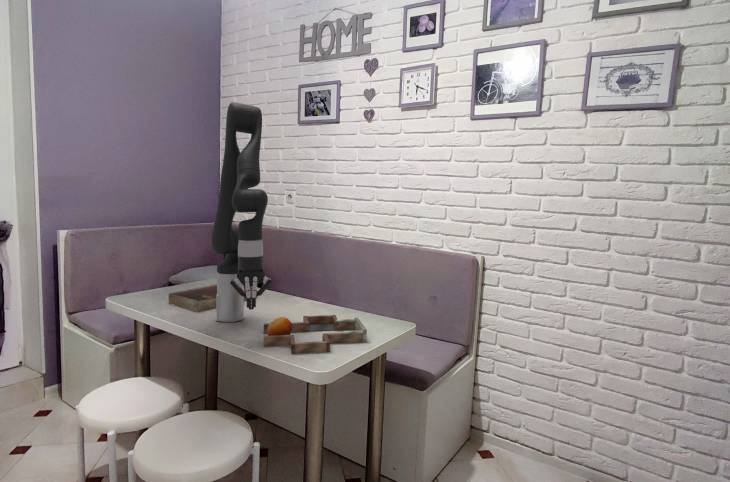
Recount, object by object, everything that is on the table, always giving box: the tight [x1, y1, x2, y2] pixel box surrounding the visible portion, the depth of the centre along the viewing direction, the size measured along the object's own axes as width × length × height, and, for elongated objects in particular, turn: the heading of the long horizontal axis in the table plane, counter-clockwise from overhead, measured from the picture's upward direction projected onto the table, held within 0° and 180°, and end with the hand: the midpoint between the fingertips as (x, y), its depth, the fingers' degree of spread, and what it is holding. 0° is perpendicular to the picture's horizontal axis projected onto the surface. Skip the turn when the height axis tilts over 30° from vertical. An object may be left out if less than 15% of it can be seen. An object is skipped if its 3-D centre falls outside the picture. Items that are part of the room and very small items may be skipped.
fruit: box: [266, 316, 293, 336], centre depth 144 cm, size 8×8×8 cm
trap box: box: [262, 314, 368, 355], centre depth 146 cm, size 32×27×4 cm
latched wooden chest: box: [168, 283, 258, 313], centre depth 185 cm, size 29×19×5 cm, turn 145°
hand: (251, 308), depth 141 cm, fingers closed
